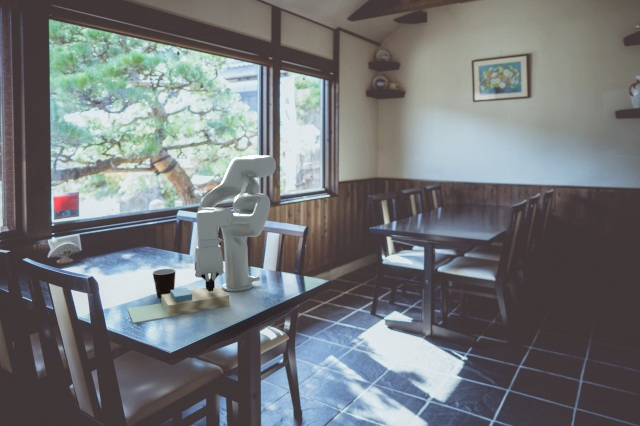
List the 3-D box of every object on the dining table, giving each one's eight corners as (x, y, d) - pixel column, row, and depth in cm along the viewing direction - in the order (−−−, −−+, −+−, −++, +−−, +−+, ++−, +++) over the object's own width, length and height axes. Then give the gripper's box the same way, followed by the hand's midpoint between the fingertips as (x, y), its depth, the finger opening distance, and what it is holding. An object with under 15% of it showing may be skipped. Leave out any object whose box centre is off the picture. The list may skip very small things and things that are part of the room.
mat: (161, 304, 185) (161, 303, 185) (169, 317, 171) (169, 316, 170) (127, 309, 179) (127, 308, 179) (133, 323, 165) (133, 322, 165)
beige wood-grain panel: (218, 295, 194) (218, 286, 193) (229, 305, 182) (229, 295, 181) (161, 304, 184) (161, 294, 183) (168, 316, 171) (168, 305, 171)
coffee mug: (173, 299, 190) (171, 274, 189) (151, 299, 190) (149, 274, 189) (181, 290, 202) (180, 266, 200) (160, 290, 202) (159, 267, 200)
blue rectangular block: (186, 292, 185) (186, 287, 185) (192, 299, 177) (192, 294, 177) (170, 295, 182) (170, 290, 182) (175, 302, 174) (175, 296, 174)
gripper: (224, 239, 189) (226, 285, 191) (185, 243, 182) (188, 290, 184) (230, 242, 182) (232, 290, 185) (190, 246, 175) (192, 296, 178)
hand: (210, 290), depth 184 cm, fingers closed
